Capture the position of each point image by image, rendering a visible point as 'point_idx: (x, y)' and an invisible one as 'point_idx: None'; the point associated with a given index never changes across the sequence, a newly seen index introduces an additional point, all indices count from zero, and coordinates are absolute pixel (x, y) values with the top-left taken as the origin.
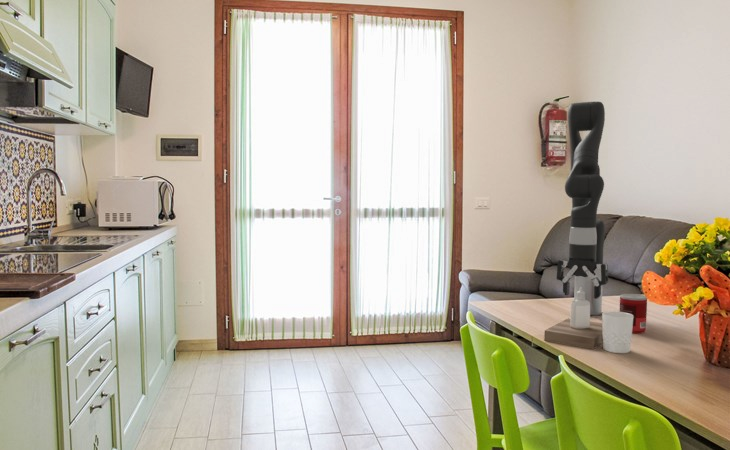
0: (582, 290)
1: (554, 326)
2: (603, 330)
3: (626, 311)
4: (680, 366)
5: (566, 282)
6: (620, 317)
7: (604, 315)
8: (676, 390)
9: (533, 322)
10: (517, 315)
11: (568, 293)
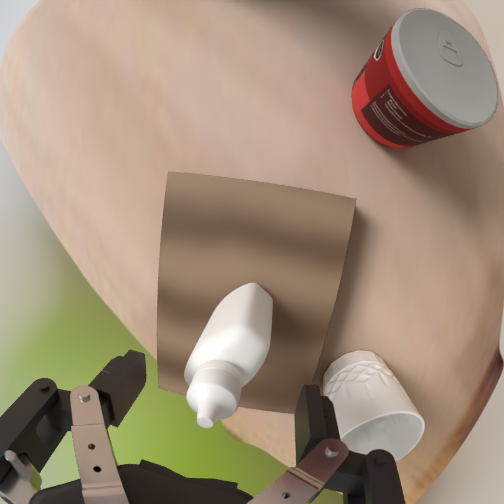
0: (219, 414)
1: (162, 334)
2: None
3: (408, 129)
4: (449, 405)
5: (107, 421)
6: None
7: None
8: (402, 483)
9: (80, 170)
10: (41, 117)
11: (142, 367)
